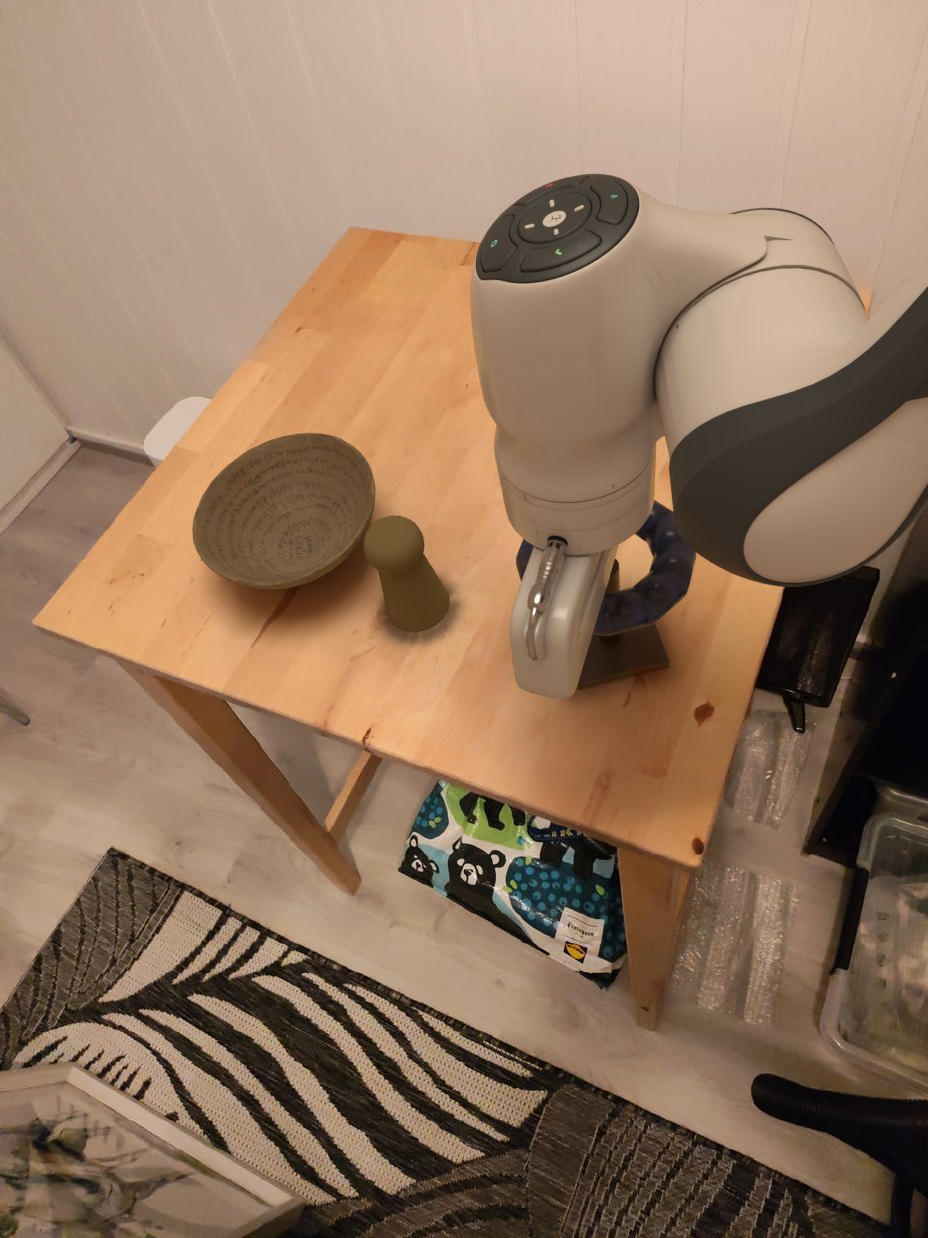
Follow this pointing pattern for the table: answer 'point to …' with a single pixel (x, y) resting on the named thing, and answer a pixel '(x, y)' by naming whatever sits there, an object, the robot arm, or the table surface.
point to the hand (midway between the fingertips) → (588, 610)
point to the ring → (653, 590)
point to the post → (622, 650)
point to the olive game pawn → (405, 574)
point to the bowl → (285, 511)
